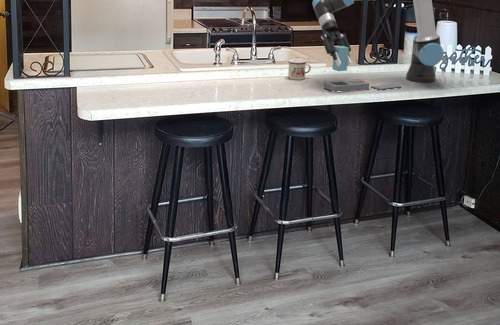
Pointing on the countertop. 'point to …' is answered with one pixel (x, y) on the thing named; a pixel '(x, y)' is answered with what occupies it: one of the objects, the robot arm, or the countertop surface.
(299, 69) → the teacup with lid
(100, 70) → the countertop surface
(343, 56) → the brick
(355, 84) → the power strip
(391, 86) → the phone
